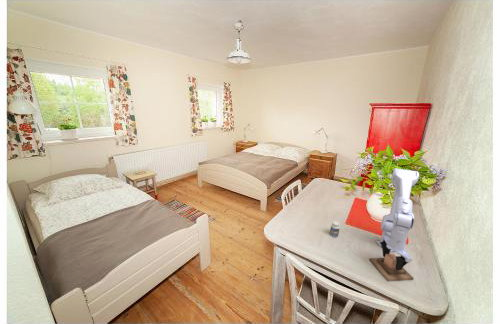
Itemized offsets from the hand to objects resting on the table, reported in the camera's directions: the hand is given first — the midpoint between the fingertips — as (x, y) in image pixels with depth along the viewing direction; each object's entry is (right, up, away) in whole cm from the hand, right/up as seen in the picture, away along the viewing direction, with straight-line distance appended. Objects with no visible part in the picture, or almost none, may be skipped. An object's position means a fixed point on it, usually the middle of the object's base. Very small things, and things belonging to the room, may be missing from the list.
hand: (391, 262), depth 89 cm
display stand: (0, -4, +1) cm, 4 cm away
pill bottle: (-16, +3, +25) cm, 30 cm away
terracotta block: (0, -3, +1) cm, 3 cm away
